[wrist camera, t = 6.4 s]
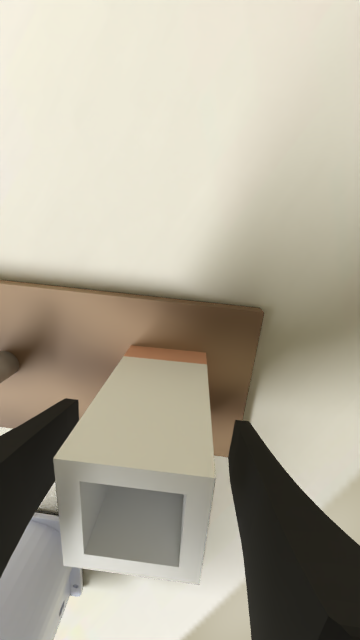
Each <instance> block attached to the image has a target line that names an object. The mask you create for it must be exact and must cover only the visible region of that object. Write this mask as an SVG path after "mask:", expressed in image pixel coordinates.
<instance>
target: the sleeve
mask: <svg viewBox="0 0 360 640" xmlns="http://www.w3.org/2000/svg"><path fill="white" fill-rule="evenodd" d="M53 463H54V473H55V483H56V493H57V503H58V514H59V524H60V534H61V544H62V554H63V564H64V566H69V567H76V568H83V569H90V570H97V571H104V572H111V573H118V574H125V575H132V576H139V577H146V578H153V579H160V580H167V581H174V582H181V583H188V584H195V585H199V584H200V578H201V571H202V565H203V558H204V551H205V545H206V538H207V532H208V525H209V518H210V512H211V505H212V499H213V492H214V485H215V479H216V477H215V464H214V451H213V437H212V424H211V411H210V398H209V385H208V372H207V359H206V352H196V351H185V350H175V349H165V348H155V347H144V346H134V345H131V346H130V347H129V349H128V350H127V352H126V353H125V355H124V356H123V357H122V359H121V360H120V362H119V363H118V365H117V366H116V368H115V369H114V371H113V372H112V373H111V375H110V376H109V378H108V379H107V381H106V382H105V384H104V385H103V387H102V388H101V389H100V391H99V392H98V394H97V395H96V397H95V398H94V400H93V401H92V403H91V404H90V405H89V407H88V408H87V410H86V411H85V413H84V414H83V416H82V417H81V419H80V420H79V421H78V423H77V424H76V426H75V427H74V429H73V430H72V432H71V433H70V435H69V436H68V437H67V439H66V440H65V442H64V443H63V445H62V446H61V448H60V449H59V451H58V452H57V453H56V455H55V456H54V458H53Z"/></svg>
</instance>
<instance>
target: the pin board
mask: <svg viewBox="0 0 360 640" xmlns="http://www.w3.org/2000/svg"><path fill="white" fill-rule="evenodd" d="M263 316H264V312H263V311H262V310H261V309H260V308H256V307H246V306H237V305H228V304H219V303H209V302H200V301H191V300H182V299H172V298H163V297H154V296H145V295H135V294H126V293H117V292H108V291H98V290H89V289H80V288H71V287H61V286H52V285H43V284H34V283H24V282H15V281H6V280H0V427H6V428H13V429H14V428H16V427H18V426H19V425H21V424H23V423H25V422H26V421H28V420H30V419H31V418H33V417H35V416H36V415H38V414H40V413H41V412H43V411H45V410H46V409H48V408H50V407H51V406H53V405H55V404H56V403H58V402H60V401H61V400H63V399H65V398H68V399H76V400H78V402H79V420H80V419H81V417H82V416H83V414H84V413H85V411H86V410H87V408H88V407H89V405H90V404H91V403H92V401H93V400H94V398H95V397H96V395H97V394H98V392H99V391H100V389H101V388H102V387H103V385H104V384H105V382H106V381H107V379H108V378H109V376H110V375H111V373H112V372H113V371H114V369H115V368H116V366H117V365H118V363H119V362H120V360H121V359H122V357H123V356H124V355H125V353H126V352H127V350H128V349H129V347H130V346H131V345H134V346H144V347H155V348H165V349H175V350H185V351H196V352H206V359H207V372H208V385H209V398H210V411H211V424H212V437H213V451H214V455H215V456H223V457H228V455H229V449H230V444H231V439H232V434H233V429H234V423H235V420H241V421H242V420H243V415H244V410H245V405H246V400H247V395H248V390H249V385H250V380H251V375H252V371H253V366H254V361H255V356H256V351H257V346H258V341H259V336H260V331H261V326H262V321H263Z"/></svg>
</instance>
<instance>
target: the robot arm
mask: <svg viewBox="0 0 360 640" xmlns="http://www.w3.org/2000/svg"><path fill="white" fill-rule="evenodd" d="M78 421H79V402H78V400H76V399H68V398H65V399H63V400H61V401H60V402H58V403H56V404H55V405H53V406H51V407H50V408H48V409H46V410H45V411H43V412H41V413H40V414H38V415H36V416H35V417H33V418H31V419H30V420H28V421H26V422H25V423H23V424H21V425H19V426H18V427H16V428H14V429H12V430H10V431H9V432H7V433H5V434H3V435H1V436H0V640H53V639H54V637H55V634H56V631H57V629H58V626H59V623H60V620H61V618H62V615H63V612H64V610H65V607H66V604H67V601H68V599H69V596H70V595H71V596H80V595H81V593H82V590H83V578H82V568H76V567H69V566H64V564H63V554H62V544H61V534H60V524H59V516H56V515H50V514H43V513H36V510H37V509H38V507H39V505H40V504H41V502H42V501H43V499H44V497H45V496H46V494H47V493H48V491H49V490H50V488H51V486H52V485H53V483H54V482H55V473H54V463H53V458H54V456H55V455H56V453H57V452H58V451H59V449H60V448H61V446H62V445H63V443H64V442H65V440H66V439H67V437H68V436H69V435H70V433H71V432H72V430H73V429H74V427H75V426H76V424H77V423H78ZM228 460H229V474H230V483H231V489H232V494H233V500H234V505H235V510H236V516H237V521H238V527H239V532H240V537H241V543H242V550H243V556H244V566H245V575H246V585H247V595H248V604H249V616H250V625H251V638H252V640H360V546H359V545H358V544H357V543H356V542H355V541H354V540H353V539H351V538H350V537H349V536H348V535H347V534H346V533H345V532H344V531H343V530H341V528H340V527H338V526H337V525H336V524H335V523H334V522H333V521H332V520H331V519H330V518H329V517H328V516H327V515H326V514H325V513H324V512H323V511H322V510H321V509H320V508H319V507H318V506H317V505H316V504H315V503H314V502H313V501H312V500H311V499H310V498H309V497H308V496H307V495H306V494H305V493H304V492H303V491H302V489H301V488H300V487H299V486H298V485H297V484H296V483H295V482H294V480H293V479H292V478H291V477H290V476H289V474H288V473H287V472H286V471H285V470H284V468H283V467H282V466H281V465H280V463H279V462H278V461H277V459H276V458H275V457H274V456H273V454H272V453H271V452H270V450H269V449H268V448H267V446H266V445H265V443H264V442H263V441H262V439H261V438H260V436H259V435H258V434H257V432H256V431H255V429H254V428H253V426H252V425H251V424H250V422H249V421H241V420H235V423H234V429H233V434H232V439H231V444H230V449H229V455H228Z"/></svg>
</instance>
